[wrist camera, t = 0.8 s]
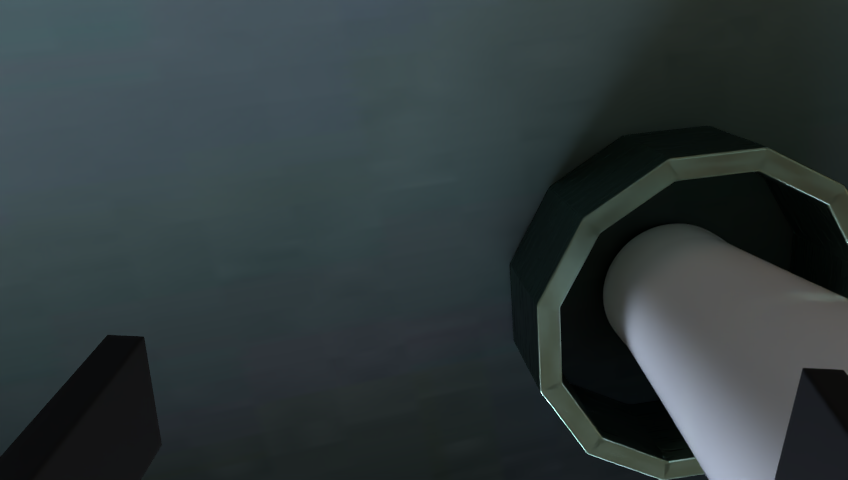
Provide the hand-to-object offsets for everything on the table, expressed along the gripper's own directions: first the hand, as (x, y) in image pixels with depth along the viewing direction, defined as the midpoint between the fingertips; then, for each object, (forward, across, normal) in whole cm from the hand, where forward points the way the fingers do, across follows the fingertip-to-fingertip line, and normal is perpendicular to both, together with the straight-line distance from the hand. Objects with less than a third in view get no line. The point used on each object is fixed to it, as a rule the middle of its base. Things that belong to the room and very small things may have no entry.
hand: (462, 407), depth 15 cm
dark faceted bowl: (+14, +8, -4) cm, 17 cm away
